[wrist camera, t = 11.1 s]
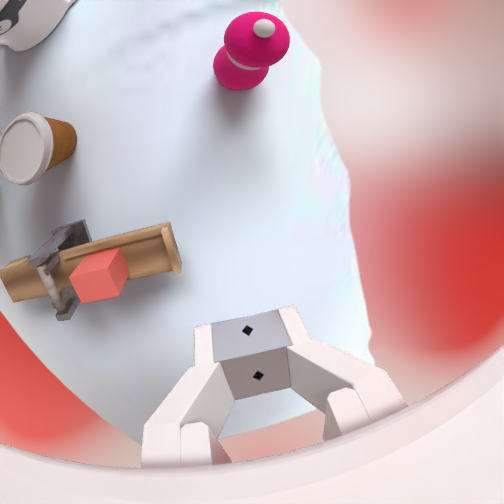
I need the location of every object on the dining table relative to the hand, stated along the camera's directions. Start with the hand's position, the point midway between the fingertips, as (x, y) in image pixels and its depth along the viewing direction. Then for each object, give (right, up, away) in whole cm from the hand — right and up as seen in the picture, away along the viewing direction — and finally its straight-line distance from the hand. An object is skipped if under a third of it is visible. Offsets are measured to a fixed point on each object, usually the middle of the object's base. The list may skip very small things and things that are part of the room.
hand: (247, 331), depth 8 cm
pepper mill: (-2, +29, +26) cm, 38 cm away
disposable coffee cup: (-30, +20, +25) cm, 44 cm away
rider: (-20, +1, +27) cm, 34 cm away
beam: (-27, +2, +30) cm, 41 cm away
